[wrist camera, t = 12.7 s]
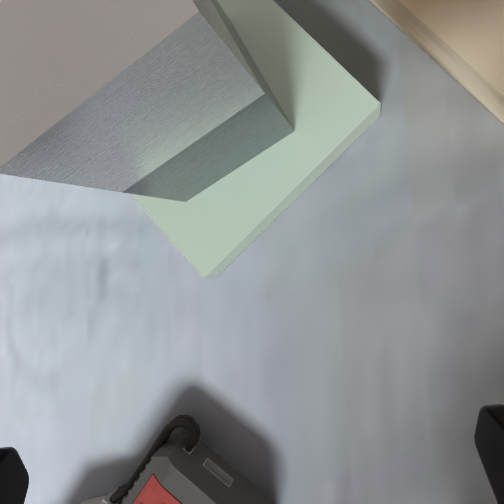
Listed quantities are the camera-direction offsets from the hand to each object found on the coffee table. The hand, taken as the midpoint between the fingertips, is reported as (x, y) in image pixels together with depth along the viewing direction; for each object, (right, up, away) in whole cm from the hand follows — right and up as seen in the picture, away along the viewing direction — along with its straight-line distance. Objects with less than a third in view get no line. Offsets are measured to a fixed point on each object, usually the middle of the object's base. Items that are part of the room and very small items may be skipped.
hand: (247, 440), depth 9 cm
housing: (-2, +10, +10) cm, 14 cm away
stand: (-1, +10, +12) cm, 15 cm away
